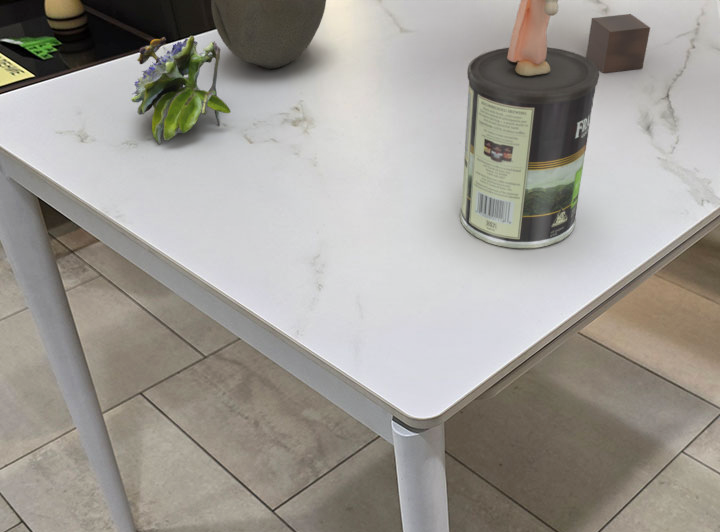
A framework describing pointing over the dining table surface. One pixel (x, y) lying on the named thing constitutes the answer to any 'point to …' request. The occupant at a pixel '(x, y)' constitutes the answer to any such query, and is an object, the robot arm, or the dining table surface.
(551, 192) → the coffee can
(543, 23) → the grandmother figurine
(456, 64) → the dining table surface
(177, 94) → the passion flower
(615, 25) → the walnut block
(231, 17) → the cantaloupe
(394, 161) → the dining table surface
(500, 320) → the dining table surface
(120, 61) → the dining table surface
